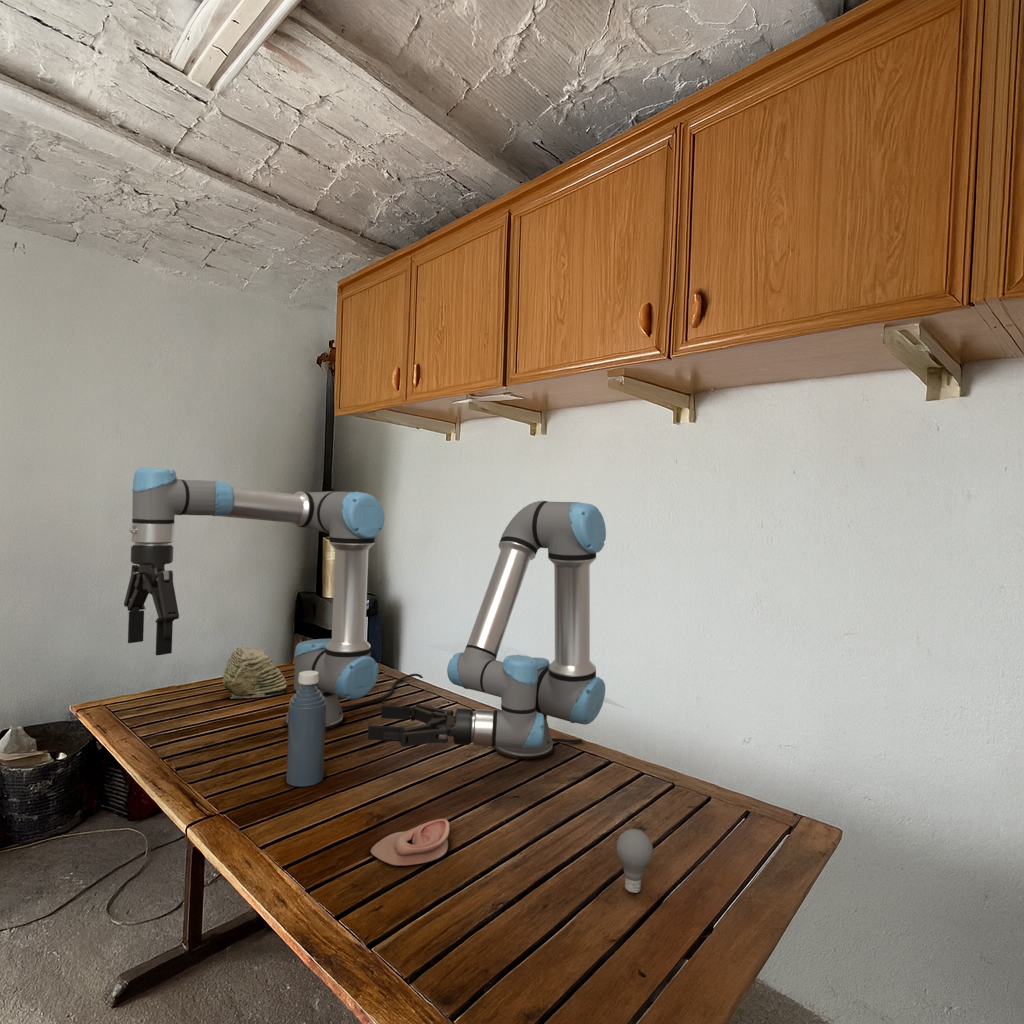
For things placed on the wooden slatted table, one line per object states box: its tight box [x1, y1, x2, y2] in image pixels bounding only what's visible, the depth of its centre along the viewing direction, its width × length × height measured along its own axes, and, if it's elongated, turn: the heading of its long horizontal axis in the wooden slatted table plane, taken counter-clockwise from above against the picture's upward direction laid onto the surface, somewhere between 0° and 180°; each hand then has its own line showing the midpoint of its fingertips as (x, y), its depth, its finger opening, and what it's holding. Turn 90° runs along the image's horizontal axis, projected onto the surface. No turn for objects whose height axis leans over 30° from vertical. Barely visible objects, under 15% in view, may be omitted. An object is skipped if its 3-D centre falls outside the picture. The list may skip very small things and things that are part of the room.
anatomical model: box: [370, 818, 450, 867], centre depth 115 cm, size 13×4×12 cm
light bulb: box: [615, 828, 654, 894], centre depth 106 cm, size 6×6×10 cm
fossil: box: [222, 646, 288, 699], centre depth 198 cm, size 9×18×15 cm, turn 132°
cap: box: [299, 671, 319, 685], centre depth 141 cm, size 4×4×2 cm
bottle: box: [285, 684, 326, 788], centre depth 142 cm, size 8×8×23 cm
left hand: (149, 648), depth 129 cm, fingers open, 13 cm apart
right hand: (375, 721), depth 138 cm, fingers open, 13 cm apart
